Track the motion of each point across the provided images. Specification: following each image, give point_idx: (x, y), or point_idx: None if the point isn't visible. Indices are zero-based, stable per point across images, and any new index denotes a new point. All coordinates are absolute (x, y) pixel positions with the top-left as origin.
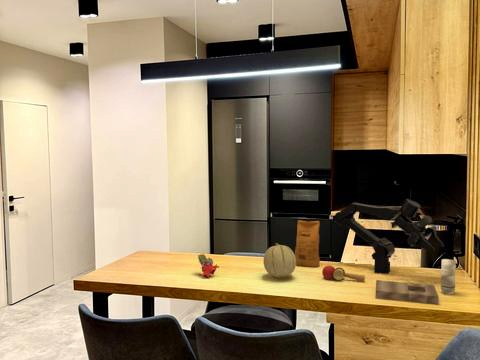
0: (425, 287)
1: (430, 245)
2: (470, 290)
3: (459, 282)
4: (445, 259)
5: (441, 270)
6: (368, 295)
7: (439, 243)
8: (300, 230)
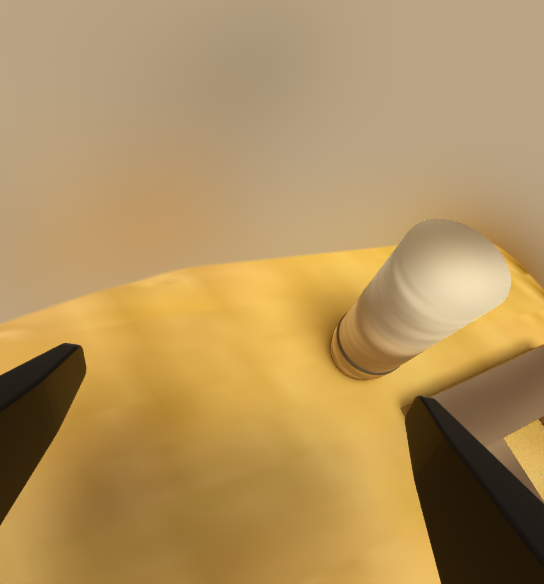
0: (503, 431)
1: (498, 463)
2: (244, 278)
3: (127, 341)
4: (438, 288)
5: (440, 340)
6: None
7: (32, 417)
8: None
